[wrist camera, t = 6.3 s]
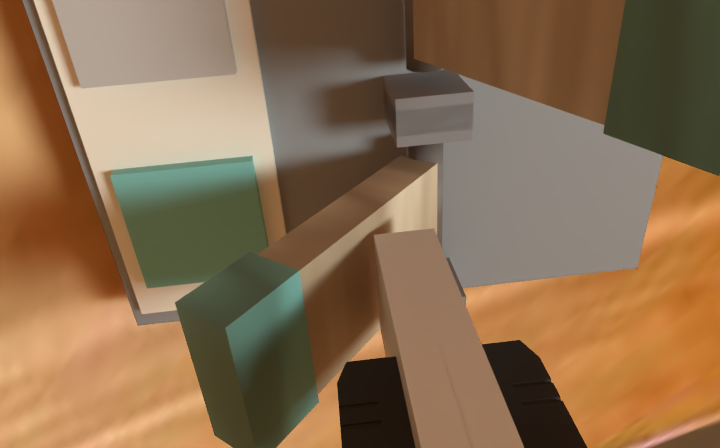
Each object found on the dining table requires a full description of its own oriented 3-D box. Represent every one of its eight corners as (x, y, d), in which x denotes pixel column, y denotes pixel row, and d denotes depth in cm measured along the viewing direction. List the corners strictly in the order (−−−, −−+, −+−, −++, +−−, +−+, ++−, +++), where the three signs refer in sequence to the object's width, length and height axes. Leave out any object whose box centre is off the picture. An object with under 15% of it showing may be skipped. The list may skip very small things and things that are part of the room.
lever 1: (415, 254, 19) (217, 443, 13) (413, 131, 16) (170, 290, 10) (452, 266, 18) (262, 473, 12) (455, 138, 16) (221, 314, 10)
